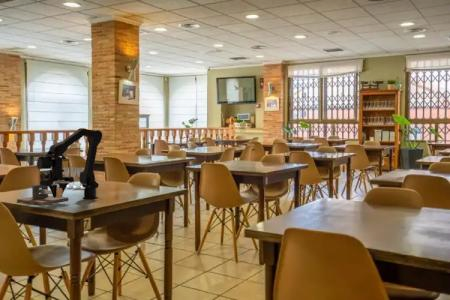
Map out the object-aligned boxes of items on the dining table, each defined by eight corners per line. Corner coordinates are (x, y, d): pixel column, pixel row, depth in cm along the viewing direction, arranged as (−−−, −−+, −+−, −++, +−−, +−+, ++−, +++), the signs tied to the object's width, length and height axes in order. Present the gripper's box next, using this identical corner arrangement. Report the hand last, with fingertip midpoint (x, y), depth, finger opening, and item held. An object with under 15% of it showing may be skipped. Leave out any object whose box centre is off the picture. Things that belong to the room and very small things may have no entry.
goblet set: (93, 187, 322) (93, 167, 321) (87, 188, 316) (87, 168, 315) (59, 185, 332) (59, 165, 331) (53, 186, 326) (53, 166, 326)
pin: (33, 195, 267) (33, 186, 267) (39, 194, 271) (38, 185, 270) (56, 198, 258) (56, 188, 258) (62, 197, 262) (62, 188, 261)
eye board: (16, 201, 263) (16, 185, 263) (43, 197, 279) (43, 181, 278) (42, 205, 254) (41, 188, 253) (68, 200, 269) (68, 184, 269)
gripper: (60, 165, 272) (60, 193, 273) (32, 168, 255) (33, 197, 256) (74, 166, 266) (74, 194, 267) (47, 169, 250) (47, 199, 251)
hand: (57, 196), depth 261 cm, fingers closed on pin, 4 cm apart
